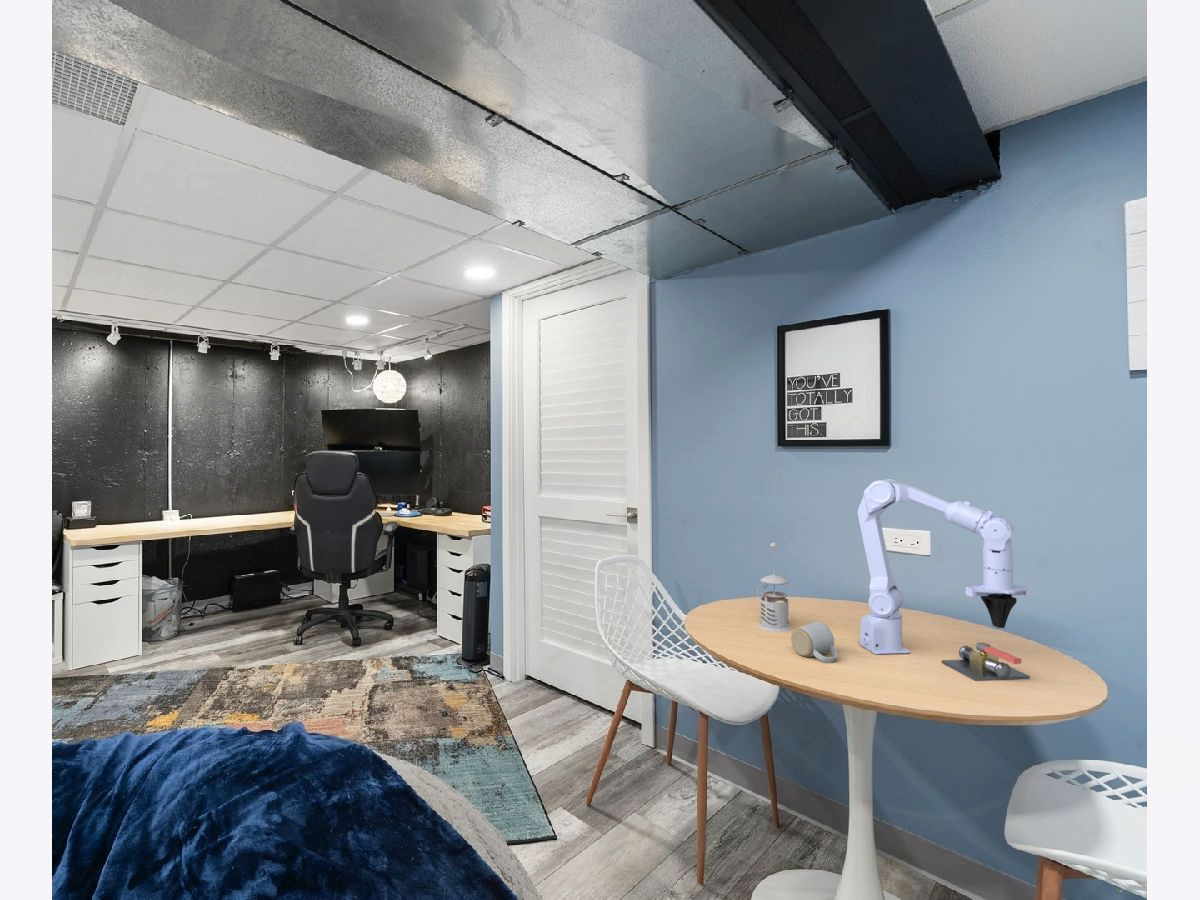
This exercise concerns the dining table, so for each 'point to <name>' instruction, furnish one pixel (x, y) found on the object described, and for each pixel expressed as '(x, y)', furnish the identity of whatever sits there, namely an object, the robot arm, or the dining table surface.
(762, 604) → the french press
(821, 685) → the dining table surface
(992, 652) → the valve lever
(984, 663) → the valve assembly
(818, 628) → the ceramic mug
